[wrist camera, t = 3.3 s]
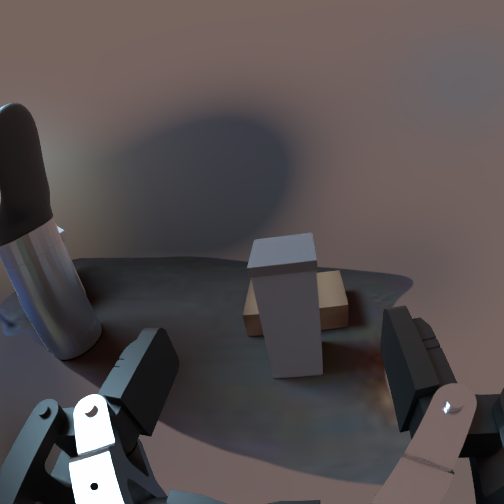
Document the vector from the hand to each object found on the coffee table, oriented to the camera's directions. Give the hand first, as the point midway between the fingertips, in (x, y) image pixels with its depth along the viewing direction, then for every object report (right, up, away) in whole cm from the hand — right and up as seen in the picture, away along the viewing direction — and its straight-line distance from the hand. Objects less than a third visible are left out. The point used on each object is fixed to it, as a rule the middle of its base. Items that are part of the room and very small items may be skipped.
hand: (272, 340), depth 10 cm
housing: (+4, -7, +17) cm, 19 cm away
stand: (+5, -4, +24) cm, 24 cm away
